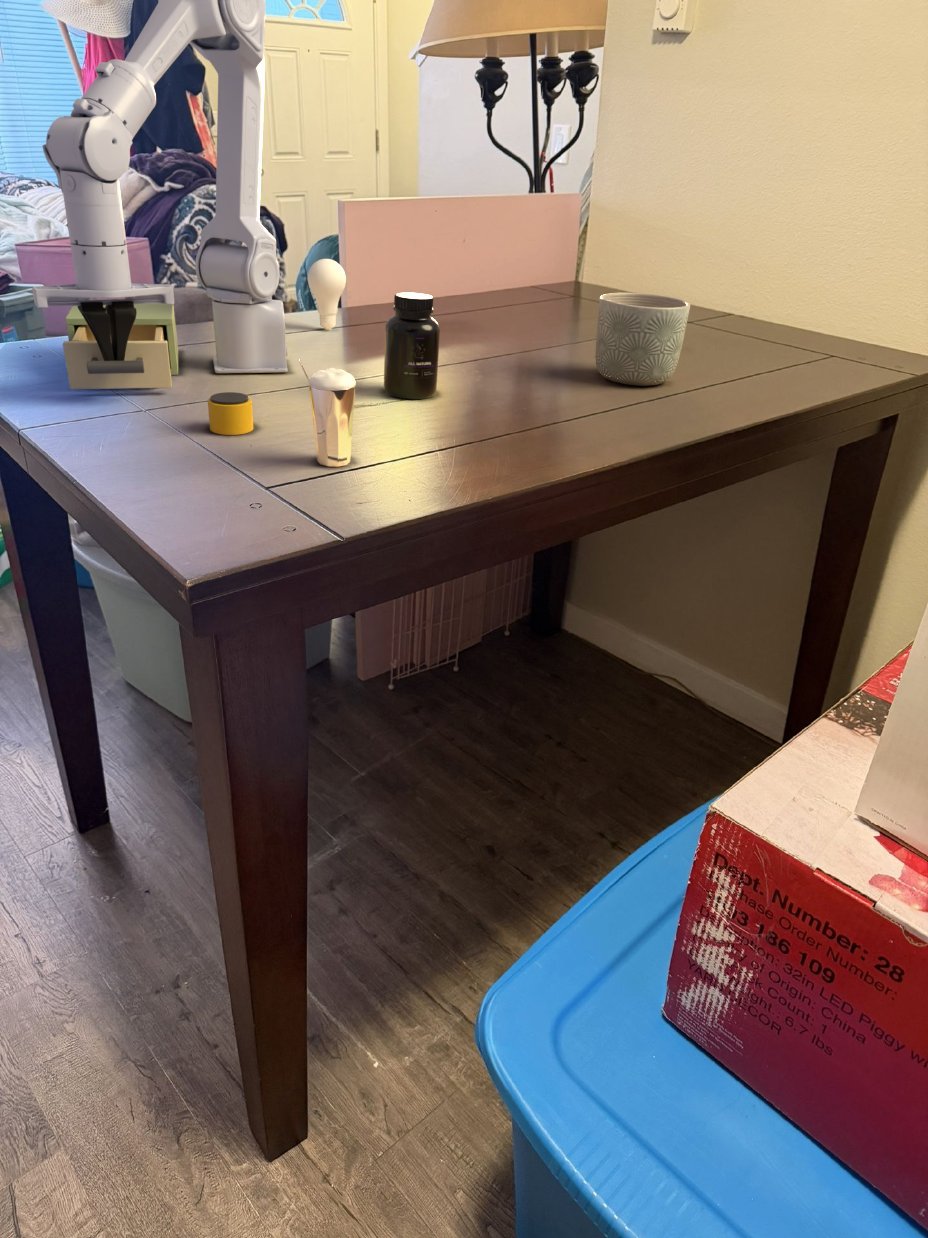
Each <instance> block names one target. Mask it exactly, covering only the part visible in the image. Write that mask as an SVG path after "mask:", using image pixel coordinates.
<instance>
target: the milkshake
mask: <svg viewBox="0 0 928 1238" xmlns="http://www.w3.org/2000/svg"><path fill="white" fill-rule="evenodd" d="M298 362H299V365H300V366H301V368H302V371H303V373H304V375H305V377H306V379H307V382H308V391H309V398H310V405H311V415H312V421H313V422H312V423H313V433H314V434H313V435H314V444H315V451H316V461H317V462H318V463H319V465H321V466H325V467H329V468H331V467H335V468H337V467H338V468H339V467H343V466H347V465H348V464H349V463H351V457H352V456H351V455H352V441H353V426H354V425H353V424H354V409H355V399H356V389H357V388H356V387H357V381H356V379H355V377H354V375H352V374H351V373H350V372H349V371H348V372H347V371H346V370H345V369H342V368H334V367H328V368H326V369H320V370H317V371H316V372H314V373H313V374H312V375H311V376H308V374H307V372H306V371H305V368H304V366H303V364H302V362H301V360H300V359H298Z"/></svg>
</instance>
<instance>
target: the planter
mask: <svg viewBox="0 0 928 1238" xmlns="http://www.w3.org/2000/svg"><path fill="white" fill-rule="evenodd" d="M598 304H599V305H598V312H597V313H598V315H597V326H596V337H595V365H596V369H597V371H598V373H599V374H600V375H601V376H602V377H603V378H605V379H606V380H609V381H611V382H614V383H618V384H622V385H629V386H640V387H641V386H643V387H645V386H646V387H649V386H657V385H661V384H664V383H666V382H668V380H670V379H671V378H672V377H673V375H674V374H675V372H676V369H677V366H678V363H679V359H680V356H681V353H682V347H683V344H684V339H685V334H686V330H687V324H688V321H689V314H690V310H691V309H690V308H691V303H690V302H689V301H687V300H684V299H681V298H678V297H672V296H667V295H661V294H654V293H644V292H643V293H642V292H610V293H604V294H601V295H600V297H599V303H598ZM600 372H601V373H600ZM604 374H605V375H604ZM606 375H607V376H606ZM609 376H610V377H609ZM617 378H618V379H617ZM669 378H670V379H669ZM666 379H668V380H666ZM661 380H664V381H661ZM655 381H656V382H655Z"/></svg>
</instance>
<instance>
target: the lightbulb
mask: <svg viewBox="0 0 928 1238" xmlns="http://www.w3.org/2000/svg"><path fill="white" fill-rule="evenodd" d="M307 283H308V286H309V288H310V291H311V292H312V295H313V296H314V298H315V301H316V305H317V312H318V315H319V322H320V323H319V325H320V326H321V327H322V328H324V330H326V331H331V330H332V329H333V328H335V327H336V324H337V314H338V307H339V301H340V298H341V297H342V294H343V292H344V291H345V288H346V283H347V276H346V272H345V270H344V268H343V267H342V266H341V264H339V263H338V262H337V261H335V260H334V259H330V258H322V259H321V258H320V259H319V260H316V261H315V262H314V263H312V265H310V268H309V270H308V272H307Z"/></svg>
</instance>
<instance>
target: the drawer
mask: <svg viewBox="0 0 928 1238" xmlns="http://www.w3.org/2000/svg"><path fill="white" fill-rule="evenodd" d="M110 335H111V334H110ZM111 345H112V343H111ZM62 348H63V354H64V360H65V367H66V371H67V378H68V384H69V385H68V386H69V389H70V390H112V389H113V390H115V389H166V388H167V389H168V388H169V389H170V388H173V384H172V383H173V381H172V375H171V372H170V363H169V353H168V344H167V341H165V339H164V330H163V325H133V326H132V329H131V332H130V335H129V338H128V342H127V346H126V352H125V359H124V361H104V359H103V356H102V353H101V351H100V348H99V346H98V344H97V341H96V339H95V337H94V335H93V333H92V331H91V329H90V328H89V326H88V325H79V327H78V329H77V331H76V333H75V335H74V337H73V339H72V341H69V340H63V342H62Z"/></svg>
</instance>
